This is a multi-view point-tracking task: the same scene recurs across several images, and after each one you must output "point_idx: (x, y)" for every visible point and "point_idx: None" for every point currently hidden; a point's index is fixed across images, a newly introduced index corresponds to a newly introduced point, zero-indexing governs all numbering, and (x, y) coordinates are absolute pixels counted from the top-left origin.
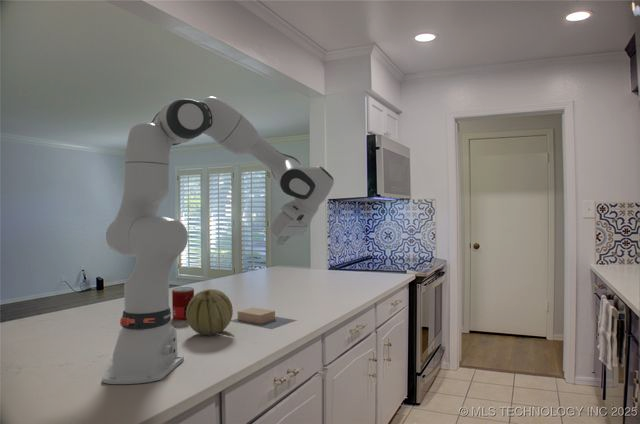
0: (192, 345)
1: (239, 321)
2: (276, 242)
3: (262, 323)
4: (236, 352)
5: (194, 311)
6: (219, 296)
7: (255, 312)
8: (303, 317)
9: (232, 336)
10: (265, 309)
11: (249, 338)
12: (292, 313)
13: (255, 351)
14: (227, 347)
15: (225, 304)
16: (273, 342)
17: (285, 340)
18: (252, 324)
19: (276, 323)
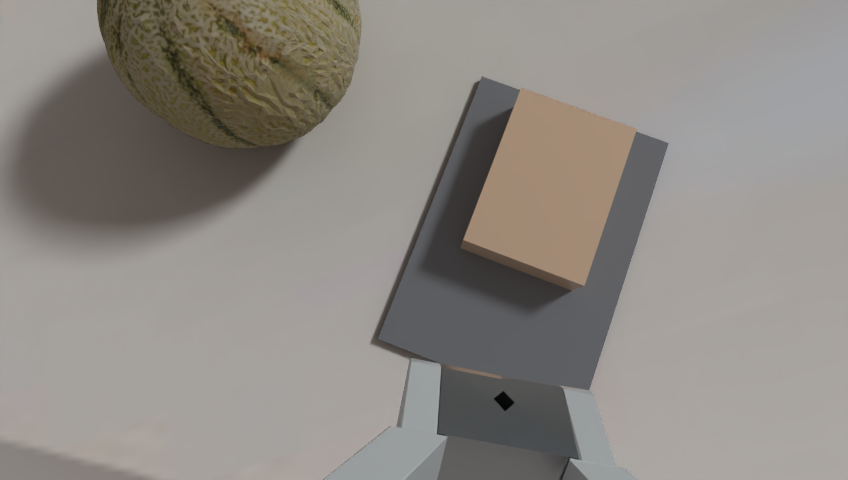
0: (104, 85)
1: (483, 128)
2: (409, 363)
3: (470, 255)
4: (28, 300)
5: None
6: (158, 42)
7: (520, 189)
8: (677, 430)
9: (252, 191)
10: (604, 219)
11: (232, 278)
12: (750, 338)
13: (47, 376)
14: (91, 235)
15: (177, 102)
16: (184, 412)
17: (223, 461)
18: (441, 212)
19: (486, 327)
